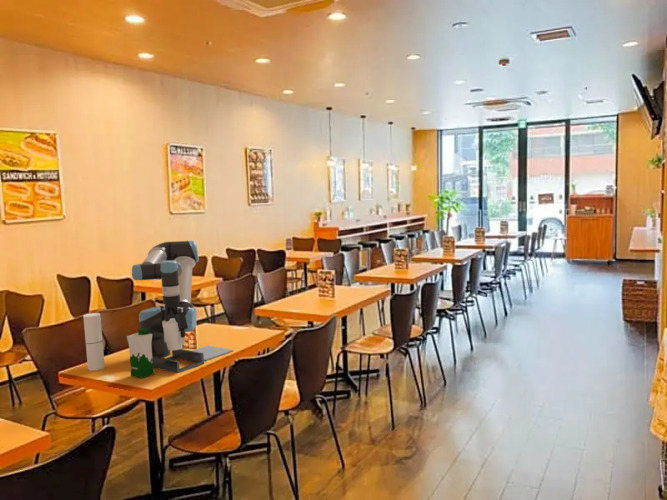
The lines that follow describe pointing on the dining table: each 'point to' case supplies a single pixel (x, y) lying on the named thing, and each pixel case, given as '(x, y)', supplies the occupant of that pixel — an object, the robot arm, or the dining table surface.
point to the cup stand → (174, 365)
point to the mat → (212, 352)
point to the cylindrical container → (94, 341)
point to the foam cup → (171, 334)
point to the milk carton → (141, 353)
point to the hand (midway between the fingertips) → (174, 342)
